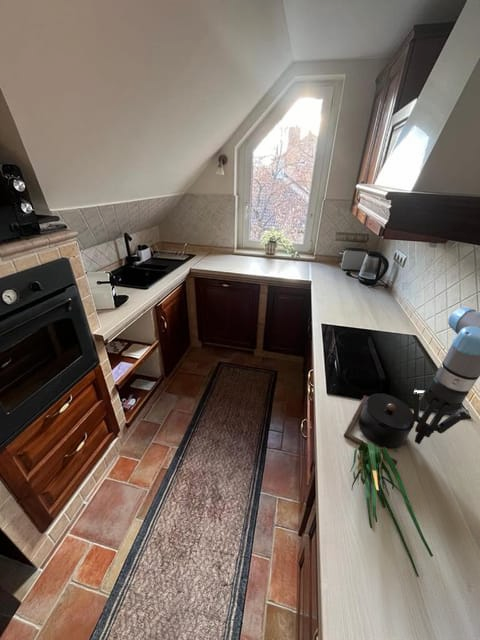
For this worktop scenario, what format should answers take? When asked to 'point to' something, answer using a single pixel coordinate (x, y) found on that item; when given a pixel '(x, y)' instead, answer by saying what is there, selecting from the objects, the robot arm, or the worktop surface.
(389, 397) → the pot
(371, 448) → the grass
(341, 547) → the worktop surface
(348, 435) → the brown bent strip
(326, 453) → the worktop surface
